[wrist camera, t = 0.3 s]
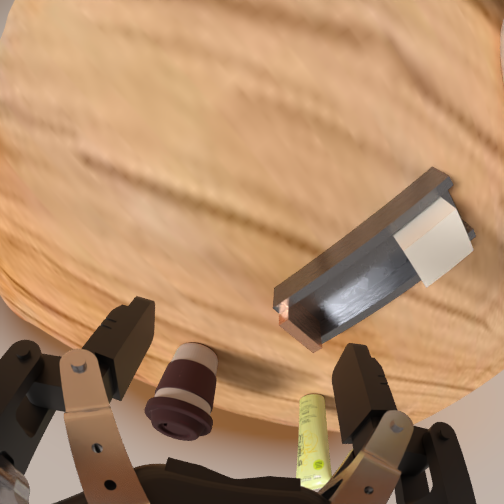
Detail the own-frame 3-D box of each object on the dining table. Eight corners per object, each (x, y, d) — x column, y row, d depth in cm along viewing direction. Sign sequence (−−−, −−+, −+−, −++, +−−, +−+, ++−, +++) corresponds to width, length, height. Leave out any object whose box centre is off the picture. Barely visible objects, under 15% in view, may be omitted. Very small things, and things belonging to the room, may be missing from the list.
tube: (302, 390, 48) (300, 486, 31) (328, 391, 48) (332, 486, 31) (297, 405, 51) (294, 493, 34) (321, 406, 51) (323, 492, 34)
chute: (432, 166, 27) (458, 181, 21) (460, 222, 29) (484, 244, 24) (274, 288, 37) (271, 319, 32) (315, 325, 40) (318, 357, 34)
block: (430, 189, 27) (456, 208, 22) (449, 226, 29) (473, 250, 24) (385, 225, 30) (403, 251, 25) (408, 259, 32) (426, 287, 26)
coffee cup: (238, 364, 46) (223, 442, 33) (196, 377, 49) (177, 446, 36) (199, 327, 42) (171, 410, 29) (158, 345, 46) (128, 417, 33)
